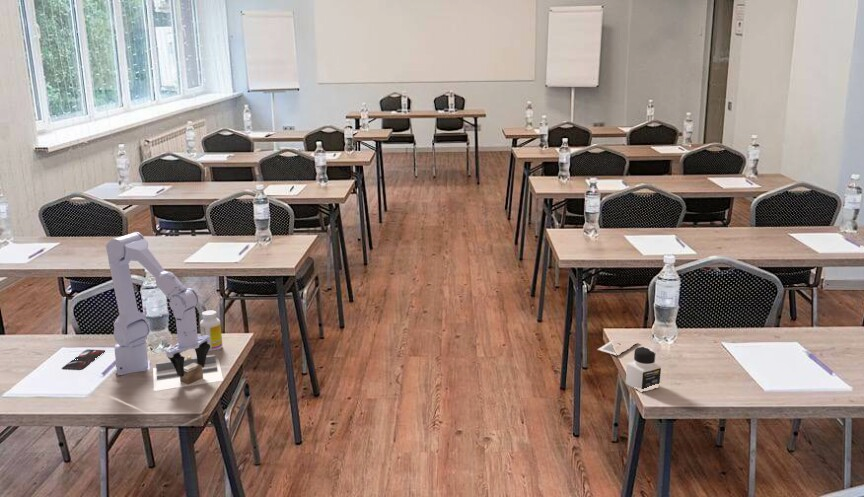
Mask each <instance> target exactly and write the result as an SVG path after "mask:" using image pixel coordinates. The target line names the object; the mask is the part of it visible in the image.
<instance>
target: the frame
mask: <svg viewBox="0 0 864 497" xmlns="http://www.w3.org/2000/svg"><path fill="white" fill-rule="evenodd" d="M202 378H203V371H202V365H199V364H197V363H192V364H189V365H187V366H184V376H183V377H181V376H180V382H183V383H186V384H188V385H189V384H191V383H193V382H195V381H198V380H200V379H202Z"/></svg>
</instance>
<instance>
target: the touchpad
mask: <svg viewBox="0 0 864 497" xmlns="http://www.w3.org/2000/svg"><path fill="white" fill-rule="evenodd" d="M613 340H614V339H612V340H610V341H609V342H607V343H606V344H603V345H602V346H601V347H599V348H597V351H601V352H604V353H607V354H611V355H614V356H617V355H616V353H615V351H614V348H613V345H612V341H613ZM617 344H619V345H621V344H620V343H617Z"/></svg>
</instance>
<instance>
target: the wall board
mask: <svg viewBox="0 0 864 497" xmlns="http://www.w3.org/2000/svg"><path fill="white" fill-rule="evenodd" d="M192 363H197V356H195V357H192V356H190V355H188V356H187V357H186V358H184V366H187V365H189V364H192ZM197 364H198V363H197ZM184 366H183V367H184ZM152 371H153V372H152V375H153V378H152V379H153V392H158V391H159V392H160V391H164V390H172V389H177V388H178V389H179V388H185V387H191V386H197V385H203V384H204V385H205V384H210V383H217V382H218V383H219V382H224V378H223V374H222V369H221V364H220V358H216V354H210V355H208V354H207V356H206V360H205V366H204V367H203V368H202V371H203V378H202V379H200V380H198V381H195V382H193V383H191V384H189V385H188V384H186V383H183V382H180V376H178V375H177V372H176V369H175V367H174V365H173V364H172V362H171V361H170V360H167V361H161V362H155V367H153V368H152Z"/></svg>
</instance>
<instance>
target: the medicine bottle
mask: <svg viewBox="0 0 864 497" xmlns="http://www.w3.org/2000/svg"><path fill="white" fill-rule="evenodd" d="M633 355H634V356H633V361H628V362H627V363H626V374H625V376H626V377H625V384H626V386H628V387H630V388H632V389H634V388H633V386H634V387H637V388H641V389H644V388H647V387H649V386H652V385H655V384H659V383H661V371H662V366H661V365H659V364H656V351H655V349H653V348H651V347H647V346H640V347H637V348H635V350H634V354H633Z"/></svg>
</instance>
